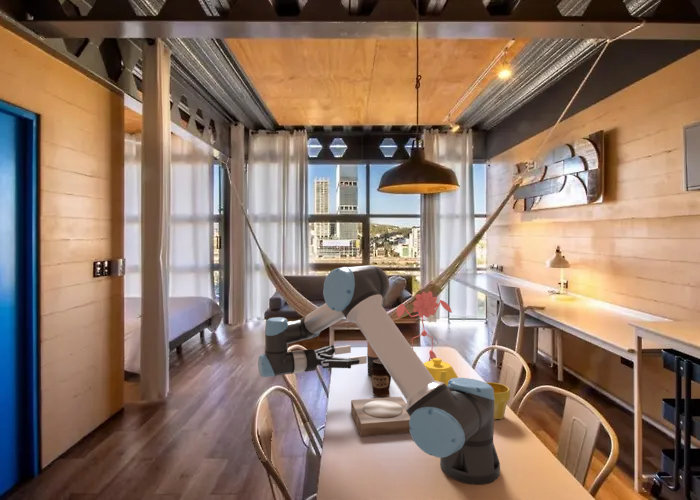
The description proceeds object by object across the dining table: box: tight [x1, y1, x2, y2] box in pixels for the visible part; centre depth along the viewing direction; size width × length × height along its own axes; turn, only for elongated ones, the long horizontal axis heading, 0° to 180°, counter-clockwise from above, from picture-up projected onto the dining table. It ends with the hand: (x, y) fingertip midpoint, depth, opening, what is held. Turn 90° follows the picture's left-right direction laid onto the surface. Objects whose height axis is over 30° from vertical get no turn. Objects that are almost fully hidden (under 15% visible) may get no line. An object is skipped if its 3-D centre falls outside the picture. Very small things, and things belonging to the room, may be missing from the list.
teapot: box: [422, 357, 459, 386], centre depth 158 cm, size 25×18×14 cm
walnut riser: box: [350, 396, 410, 438], centre depth 136 cm, size 18×18×4 cm
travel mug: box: [366, 340, 379, 378], centre depth 180 cm, size 8×8×20 cm
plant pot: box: [484, 381, 511, 420], centre depth 140 cm, size 10×10×10 cm
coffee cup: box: [371, 359, 392, 398], centre depth 158 cm, size 9×8×13 cm
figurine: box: [395, 291, 452, 361], centre depth 191 cm, size 15×26×35 cm, turn 100°
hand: (358, 353), depth 154 cm, fingers open, 13 cm apart
